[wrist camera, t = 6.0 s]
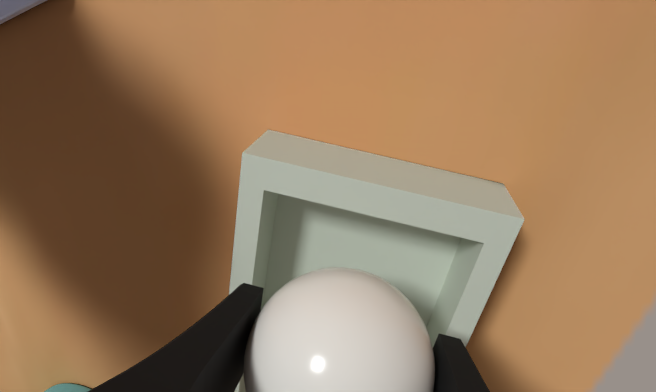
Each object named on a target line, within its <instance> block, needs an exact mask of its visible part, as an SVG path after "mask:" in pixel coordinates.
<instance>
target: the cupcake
mask: <svg viewBox="0 0 656 392" xmlns="http://www.w3.org/2000/svg"><path fill="white" fill-rule="evenodd" d="M90 390H91V389H90V388H88V387H85V386H82V385H78V384H71V383H63V384H58V385H55V386H52V387H51V388H49V389H47V390H46V391H44V392H88V391H90Z"/></svg>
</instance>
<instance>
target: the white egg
mask: <svg viewBox="0 0 656 392" xmlns="http://www.w3.org/2000/svg"><path fill="white" fill-rule="evenodd" d="M244 383H245V390H246V392H433V390H434V383H435V360H434V353H433V348H432V344H431V340H430V337H429V334H428V332H427V329H426V327H425V324H424V322H423V320H422V319H421V317H420V315H419V314H418V312H417V310H416V309H415V307H414V306H413V305H412V303H411V302H410V301H409V300H408V299H407V298H406V297H405V296H404V295H403V294H402V293H401V292H400V291H399V290H398V289H397V288H396V287H395V286H393V285H392V284H390V283H389V282H388V281H386V280H384V279H382V278H381V277H379V276H376V275H374V274H372V273H369V272H366V271H363V270H360V269H355V268H348V267H328V268H321V269H317V270H313V271H310V272H308V273H305V274H303V275H300V276H298V277H296V278H295V279H293V280H291V281H289V282H288V283H287V284H285V285H284V286H283V287H282V288H280V289H279V290H278V291H277V292H275V294H274V295H273V296H272V297H271V298H270V299H269V300H268V301H267V303H266V304H265V305H264V306H263V308H262V310H261V311H260V313H259V314H258V316H257V318H256V320H255V321H254V324H253V326H252V329H251V331H250V334H249V337H248V340H247V345H246V350H245V355H244Z"/></svg>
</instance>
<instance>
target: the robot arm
mask: <svg viewBox="0 0 656 392" xmlns="http://www.w3.org/2000/svg"><path fill="white" fill-rule="evenodd" d="M45 1H47V0H0V24H2V23H4V22H6V21H7V20H9V19H11V18H13V17H15V16H17V15H19V14H21V13H23V12H25V11H27V10H29V9H31V8H33V7H35V6H37V5H39V4H41V3H43V2H45ZM263 290H264V288H262V287H258V286H254V285H250V284H246V283H243V284H241V285H239V286H238V287H237V288H236V289H235V290H234V291H233V292H232V293H231V294H230V295H228V296H227V297H226V298H225V299H224V300H223V301H222V302H221V303H219V304H218V305H217V306H216V307H215V308H214V309H212V310H211V311H210V312H209V313H208V314H206V315H205V316H204V317H203V318H201V319H200V320H199V321H198V322H196V323H195V324H194V325H193V326H191V327H190V328H189V329H187V330H186V331H185V332H183V333H182V334H180V335H179V336H178V337H176V338H175V339H174V340H172V341H171V342H169V343H168V344H167V345H165V346H164V347H162V348H161V349H159V350H158V351H156V352H155V353H153V354H152V355H150V356H149V357H147V358H146V359H144V360H142V361H141V362H139V363H138V364H136V365H134V366H133V367H131V368H129V369H128V370H126V371H124V372H122V373H121V374H119V375H117V376H115V377H113V378H112V379H110V380H108V381H106V382H105V383H103V384H101V385H99V386H97V387H95V388H93V389H91V390H90V391H88V392H234V391H235V389H236V387H237V385H238V383H239V381H240V379H241V377H242V375H243V373H244V355H245V350H246V345H247V340H248V337H249V334H250V331H251V329H252V326H253V324H254V321H255V320H256V318H257V316H258V314H259V313H260V311H261V304H262V297H263ZM433 353H434V360H435V383H434V390H433V392H490V391H489V389H488V388H487V386H486V384H485V382H484V380H483V379H482V377H481V375H480V373H479V372H478V370H477V368H476V366H475V364H474V362H473V361H472V359H471V357H470V355H469V353H468V351H467V350H466V348H465V346H464V344H463V342H462V341H461V339H459V338H455V337H451V336H448V335H444V334H440V333H439V334H438V337H437V339H436V342H435V344H434V347H433Z"/></svg>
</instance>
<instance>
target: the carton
mask: <svg viewBox="0 0 656 392" xmlns="http://www.w3.org/2000/svg"><path fill="white" fill-rule="evenodd" d="M524 220H525V219H524V217H523V216H522V214H521V212H520V211H519V209H518V207H517V206H516V204H515V202H514V201H513V199H512V197H511V196H510V194H509V192H508V191H507V189H506V187H505V186H504V184H502V183H498V182H493V181H489V180H485V179H480V178H476V177H472V176H467V175H463V174H459V173H454V172H450V171H446V170H441V169H437V168H433V167H428V166H424V165H420V164H415V163H411V162H407V161H402V160H398V159H394V158H389V157H385V156H381V155H376V154H372V153H368V152H363V151H359V150H355V149H350V148H346V147H342V146H337V145H333V144H328V143H324V142H320V141H315V140H311V139H307V138H302V137H298V136H294V135H289V134H285V133H281V132H276V131H272V130H267V131H266V132H265V133H264V134H263V135H262V136H261V137H259V138H258V139H257V140H256V141H255V142H254V143H253V144H252V145H250V146H249V147H248V148H247V149H246V150H245V151H244V152H243V153H242V162H241V172H240V183H239V194H238V204H237V215H236V225H235V236H234V246H233V257H232V268H231V278H230V289H229V295H230V294H231V293H232V292H233V291H234V290H235V289H236V288H237V287H238V286H239V285H241V284H243V283H246V284H250V285H254V286H258V287H262V288H264V290H263V297H262V304H261V310H262V308H263V306H264V305H265V304H266V303H267V301H268V300H269V299H270V298H271V297H272V296H273V295H274V294H275V292H277V291H278V290H279V289H280V288H282V287H283V286H284V285H285V284H287V283H288V282H289V281H291V280H293V279H295V278H296V277H298V276H300V275H303V274H305V273H308V272H310V271H313V270H317V269H321V268H328V267H348V268H355V269H360V270H363V271H366V272H369V273H372V274H374V275H376V276H379V277H381V278H382V279H384V280H386V281H388V282H389V283H390V284H392V285H393V286H395V287H396V288H397V289H398V290H399V291H400V292H401V293H402V294H403V295H404V296H405V297H406V298H407V299H408V300H409V301H410V302H411V303H412V305H413V306H414V307H415V309H416V310H417V312H418V314H419V315H420V317H421V319H422V320H423V322H424V324H425V327H426V329H427V332H428V334H429V337H430V340H431V344H432V348H433V347H434V344H435V342H436V339H437V337H438V334H439V333H440V334H444V335H448V336H451V337H455V338H459V339H461V341H462V342H463V344H464V346H465V348H466V345H467V343H468V341H469V339H470V337H471V335H472V332H473V330H474V328H475V326H476V324H477V322H478V319H479V317H480V315H481V313H482V311H483V309H484V306H485V304H486V302H487V300H488V298H489V296H490V293H491V291H492V289H493V287H494V285H495V282H496V280H497V278H498V276H499V274H500V272H501V269H502V267H503V265H504V263H505V261H506V259H507V256H508V254H509V252H510V250H511V248H512V246H513V243H514V241H515V239H516V237H517V235H518V233H519V230H520V228H521V226H522V224H523V222H524ZM234 392H246V390H245V383H244V373H243V375H242V377H241V379H240V381H239V383H238V385H237V387H236V389H235V391H234Z"/></svg>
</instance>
